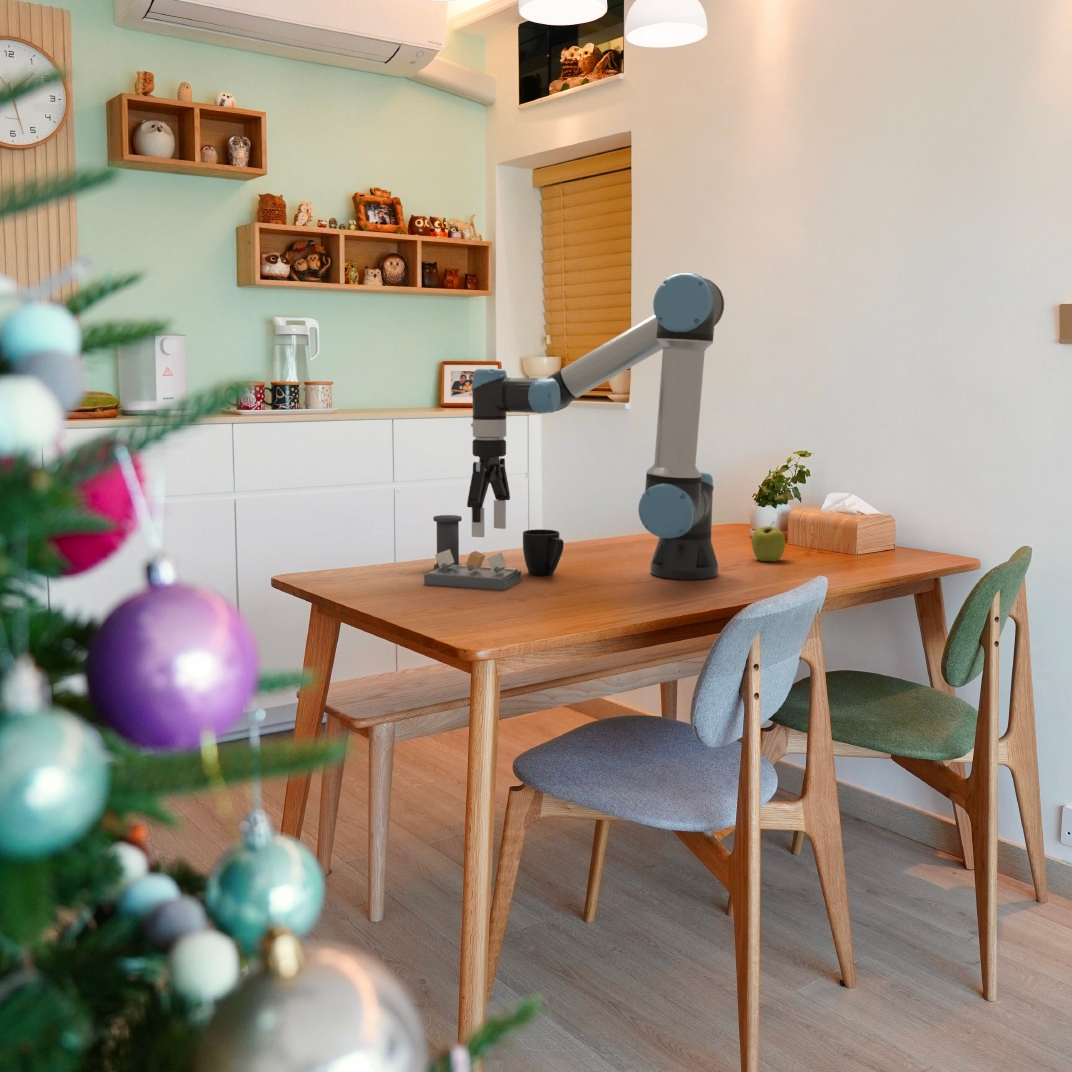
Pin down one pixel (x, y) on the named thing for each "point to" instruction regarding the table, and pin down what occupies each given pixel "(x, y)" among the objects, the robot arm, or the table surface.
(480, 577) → the breaker strip
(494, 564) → the paddle
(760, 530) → the apple
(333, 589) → the table surface
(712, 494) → the robot arm
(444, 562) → the paddle
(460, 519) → the dark grey flanged cylinder
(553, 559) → the mug
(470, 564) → the paddle mid
